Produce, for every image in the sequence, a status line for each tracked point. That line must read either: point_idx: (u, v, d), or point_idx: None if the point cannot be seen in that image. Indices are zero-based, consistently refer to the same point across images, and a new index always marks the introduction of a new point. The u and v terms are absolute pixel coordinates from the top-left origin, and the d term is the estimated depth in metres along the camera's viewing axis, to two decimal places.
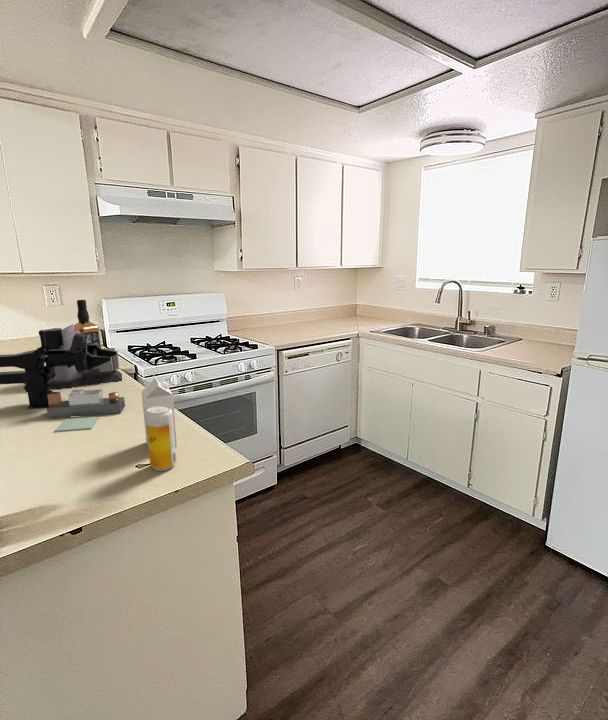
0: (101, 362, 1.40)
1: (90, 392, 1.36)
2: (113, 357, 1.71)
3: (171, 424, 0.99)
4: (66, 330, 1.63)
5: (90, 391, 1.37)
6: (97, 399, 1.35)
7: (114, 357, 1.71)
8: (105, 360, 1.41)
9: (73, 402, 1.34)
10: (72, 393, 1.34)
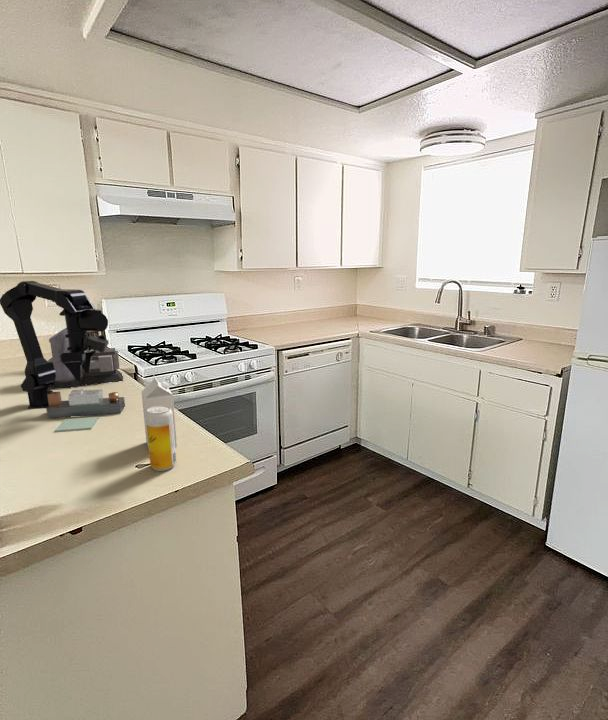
0: (73, 373, 1.29)
1: (90, 392, 1.36)
2: (113, 357, 1.71)
3: (171, 424, 0.99)
4: None
5: (90, 391, 1.37)
6: (97, 399, 1.35)
7: (114, 357, 1.72)
8: (76, 376, 1.30)
9: (73, 402, 1.34)
10: (72, 393, 1.34)
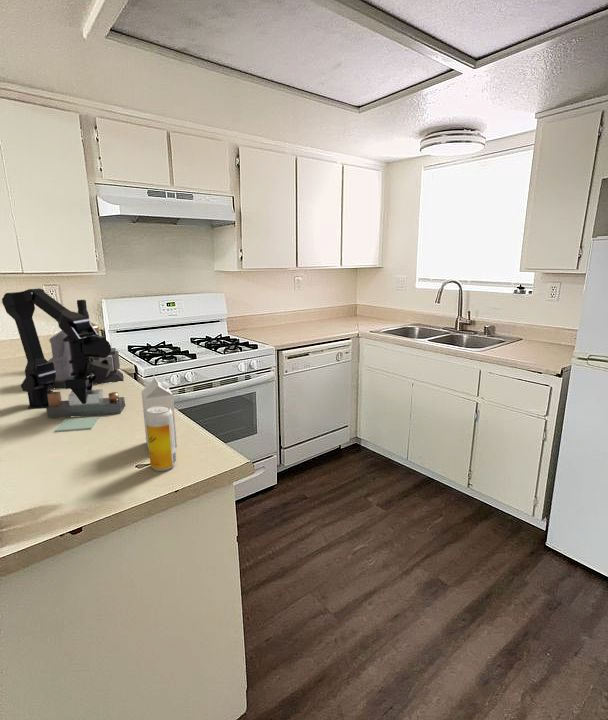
0: (79, 396, 1.33)
1: (90, 392, 1.36)
2: (114, 357, 1.71)
3: (171, 424, 0.99)
4: None
5: (90, 391, 1.37)
6: (97, 399, 1.35)
7: (115, 357, 1.72)
8: (81, 399, 1.33)
9: (73, 402, 1.34)
10: (72, 393, 1.34)
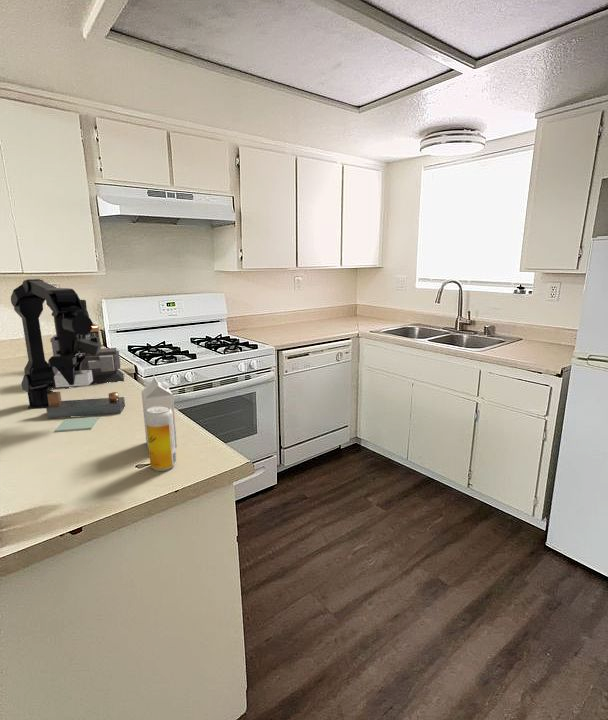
0: (66, 376, 1.21)
1: (78, 372, 1.25)
2: (114, 357, 1.71)
3: (171, 424, 0.99)
4: None
5: (78, 371, 1.26)
6: (86, 380, 1.24)
7: (115, 357, 1.72)
8: (69, 380, 1.22)
9: (60, 384, 1.22)
10: (58, 373, 1.23)
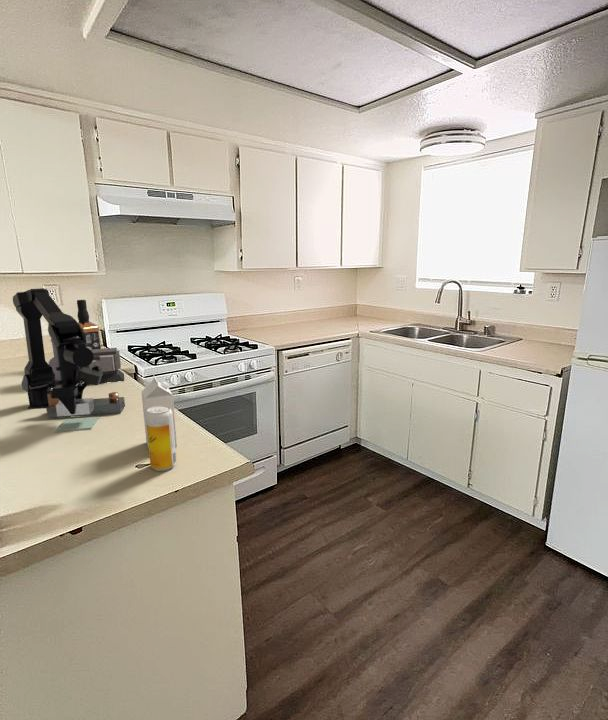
0: (67, 406, 1.22)
1: (79, 401, 1.26)
2: (115, 357, 1.71)
3: (171, 424, 0.99)
4: None
5: (80, 400, 1.27)
6: (87, 409, 1.25)
7: (116, 357, 1.72)
8: (70, 409, 1.23)
9: (62, 413, 1.23)
10: (60, 402, 1.24)
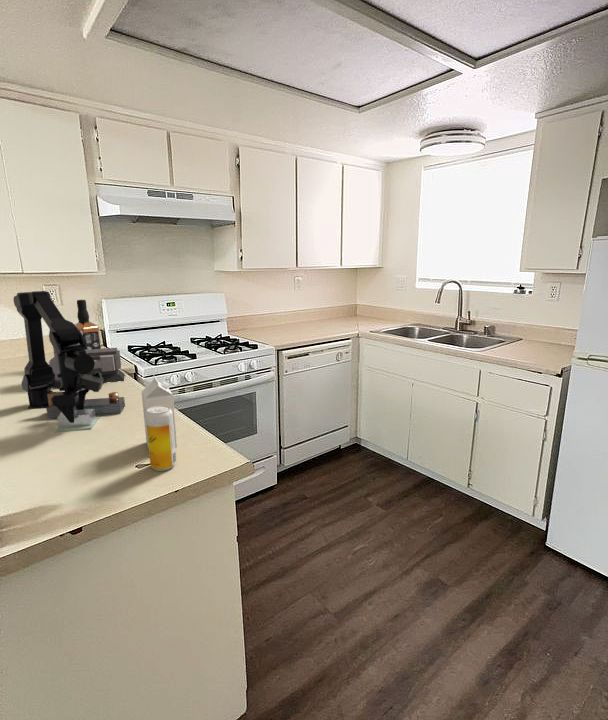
0: (66, 415, 1.21)
1: (81, 412, 1.27)
2: (115, 357, 1.72)
3: (171, 424, 0.99)
4: None
5: (81, 411, 1.28)
6: (89, 420, 1.26)
7: (116, 357, 1.72)
8: (69, 418, 1.22)
9: (63, 424, 1.24)
10: (62, 414, 1.25)
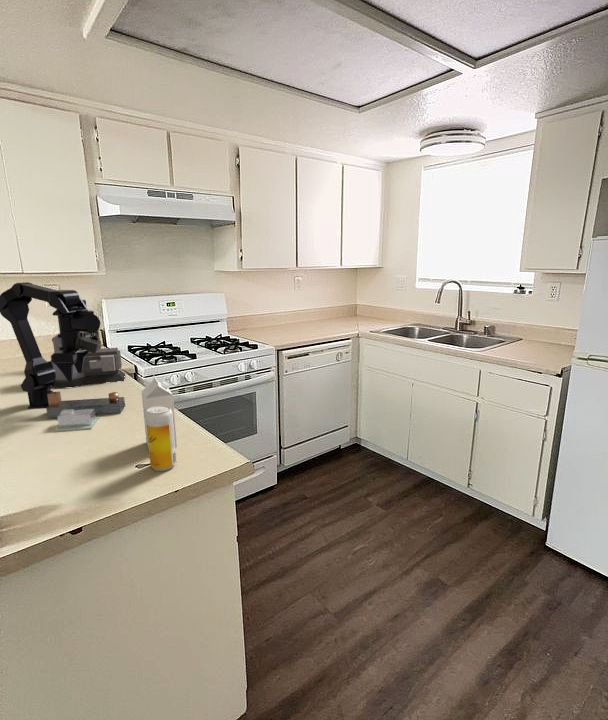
0: (65, 373, 1.29)
1: (81, 412, 1.27)
2: (115, 357, 1.72)
3: (171, 424, 0.99)
4: None
5: (81, 411, 1.28)
6: (89, 420, 1.26)
7: (116, 357, 1.72)
8: (67, 376, 1.30)
9: (63, 424, 1.24)
10: (62, 414, 1.25)
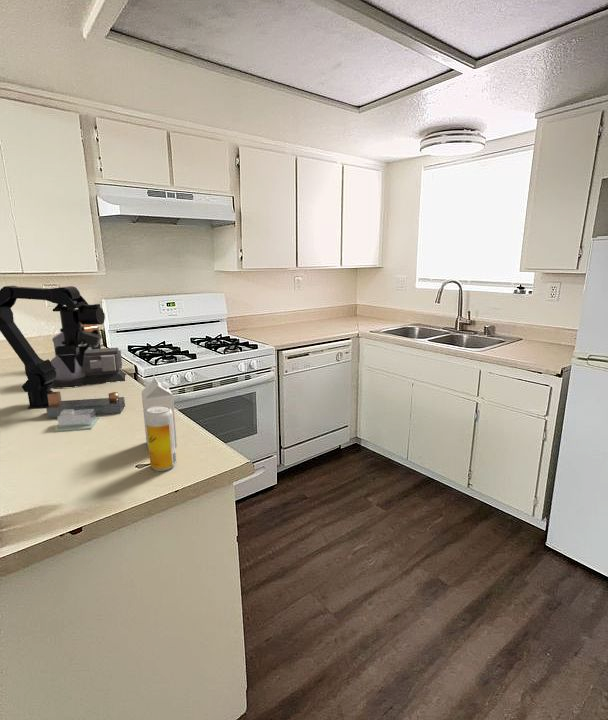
0: (68, 365, 1.36)
1: (81, 412, 1.27)
2: (116, 357, 1.72)
3: (171, 424, 0.99)
4: None
5: (81, 411, 1.28)
6: (89, 420, 1.26)
7: (117, 357, 1.72)
8: (71, 369, 1.36)
9: (63, 424, 1.24)
10: (62, 414, 1.25)
